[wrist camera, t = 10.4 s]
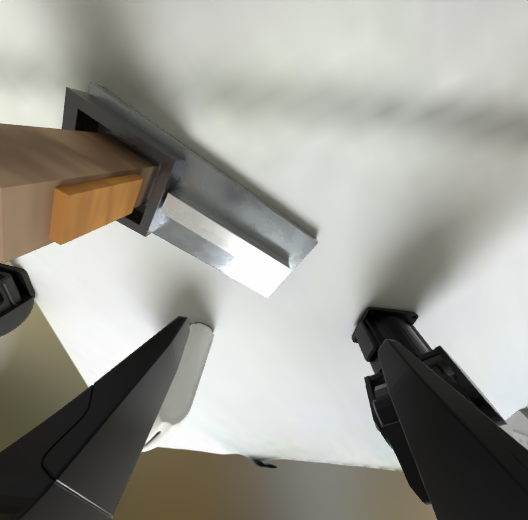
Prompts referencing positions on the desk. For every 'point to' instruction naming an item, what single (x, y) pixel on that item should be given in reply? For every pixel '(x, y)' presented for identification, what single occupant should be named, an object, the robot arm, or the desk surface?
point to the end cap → (14, 297)
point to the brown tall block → (64, 185)
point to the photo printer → (182, 386)
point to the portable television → (518, 427)
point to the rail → (195, 199)
